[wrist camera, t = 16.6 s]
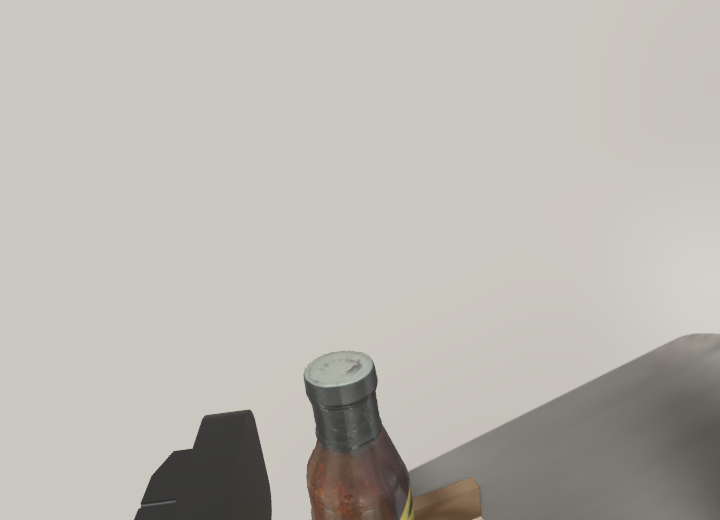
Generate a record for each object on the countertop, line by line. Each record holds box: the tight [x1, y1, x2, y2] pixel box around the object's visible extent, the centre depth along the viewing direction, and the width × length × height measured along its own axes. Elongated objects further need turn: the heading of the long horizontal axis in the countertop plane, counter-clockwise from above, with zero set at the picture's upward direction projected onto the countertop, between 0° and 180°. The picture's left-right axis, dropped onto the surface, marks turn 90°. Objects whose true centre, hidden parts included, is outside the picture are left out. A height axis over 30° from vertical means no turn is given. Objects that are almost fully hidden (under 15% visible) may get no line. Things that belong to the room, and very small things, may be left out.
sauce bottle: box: [304, 351, 415, 520], centre depth 36 cm, size 6×6×20 cm
